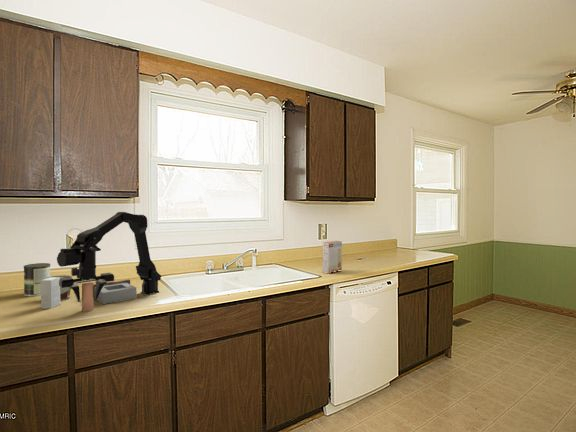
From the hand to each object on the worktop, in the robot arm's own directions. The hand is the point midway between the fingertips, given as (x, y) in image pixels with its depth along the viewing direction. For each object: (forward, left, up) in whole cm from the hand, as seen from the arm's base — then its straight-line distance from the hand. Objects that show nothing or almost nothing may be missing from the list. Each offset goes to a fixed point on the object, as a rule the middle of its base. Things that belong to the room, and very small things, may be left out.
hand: (87, 300), depth 132 cm
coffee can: (+11, -45, -4) cm, 47 cm away
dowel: (0, 0, -4) cm, 4 cm away
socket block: (-14, -12, -4) cm, 19 cm away
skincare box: (+10, -16, -4) cm, 19 cm away
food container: (+4, -29, -4) cm, 30 cm away
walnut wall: (-14, -20, -4) cm, 25 cm away
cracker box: (-141, +18, -4) cm, 142 cm away
